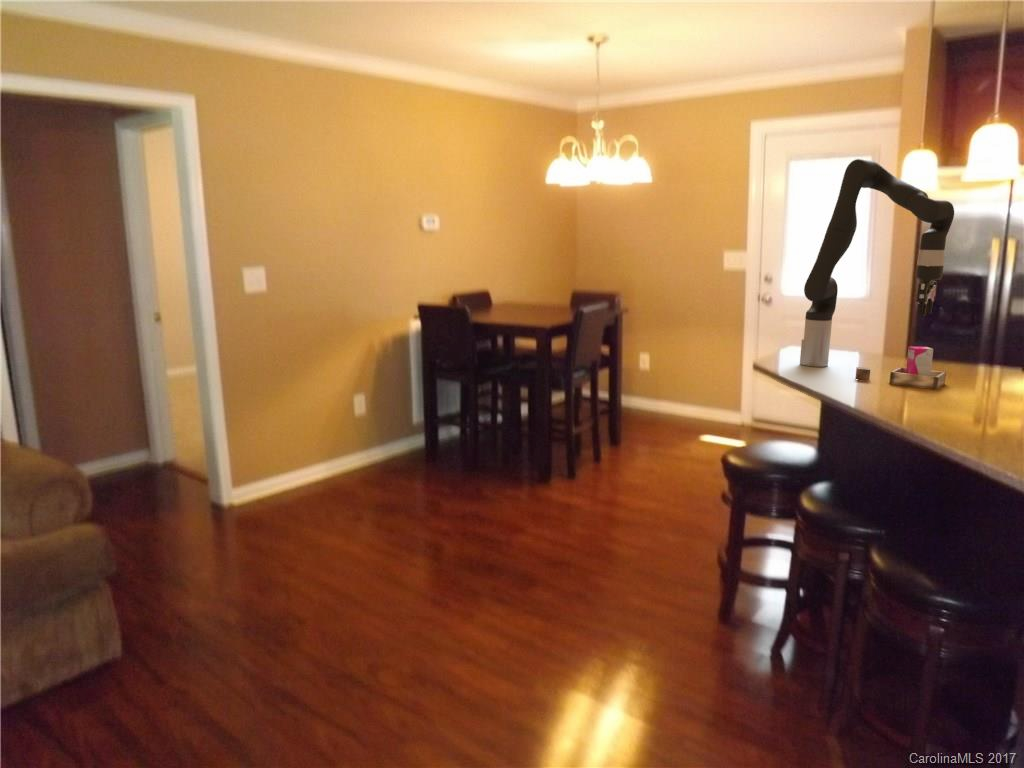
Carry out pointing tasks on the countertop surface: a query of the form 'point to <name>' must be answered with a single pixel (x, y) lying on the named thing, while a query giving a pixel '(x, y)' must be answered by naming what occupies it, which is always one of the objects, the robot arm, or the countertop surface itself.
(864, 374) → the walnut block
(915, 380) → the crate
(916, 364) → the supplement box
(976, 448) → the countertop surface
